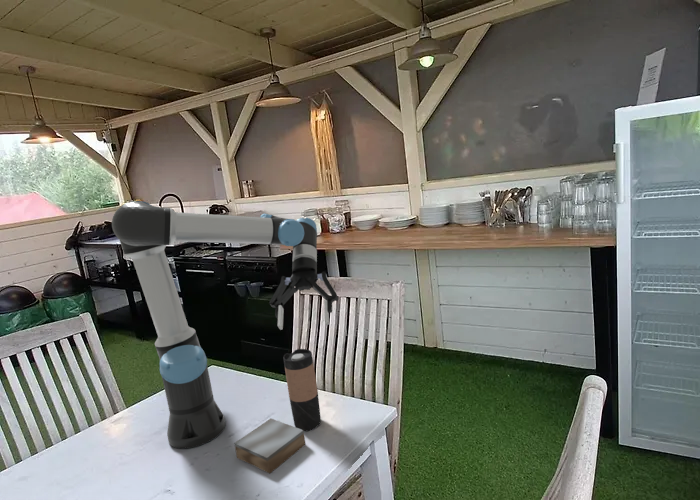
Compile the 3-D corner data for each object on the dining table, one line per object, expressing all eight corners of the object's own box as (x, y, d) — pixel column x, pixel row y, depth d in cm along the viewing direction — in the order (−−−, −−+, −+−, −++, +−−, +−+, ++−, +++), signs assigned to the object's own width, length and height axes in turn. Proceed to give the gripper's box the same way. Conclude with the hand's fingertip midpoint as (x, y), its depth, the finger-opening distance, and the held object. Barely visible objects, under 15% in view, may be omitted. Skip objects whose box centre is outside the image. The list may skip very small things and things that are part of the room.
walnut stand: (237, 457, 109) (234, 443, 109) (273, 431, 119) (270, 418, 118) (269, 473, 102) (267, 457, 101) (305, 444, 111) (303, 430, 110)
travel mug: (318, 431, 116) (308, 360, 112) (290, 432, 117) (279, 362, 114) (324, 415, 123) (315, 348, 120) (298, 415, 125) (287, 349, 121)
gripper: (346, 264, 140) (348, 326, 128) (269, 273, 143) (265, 334, 131) (342, 251, 134) (344, 314, 122) (262, 260, 137) (256, 324, 125)
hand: (303, 325), depth 127 cm, fingers open, 13 cm apart
